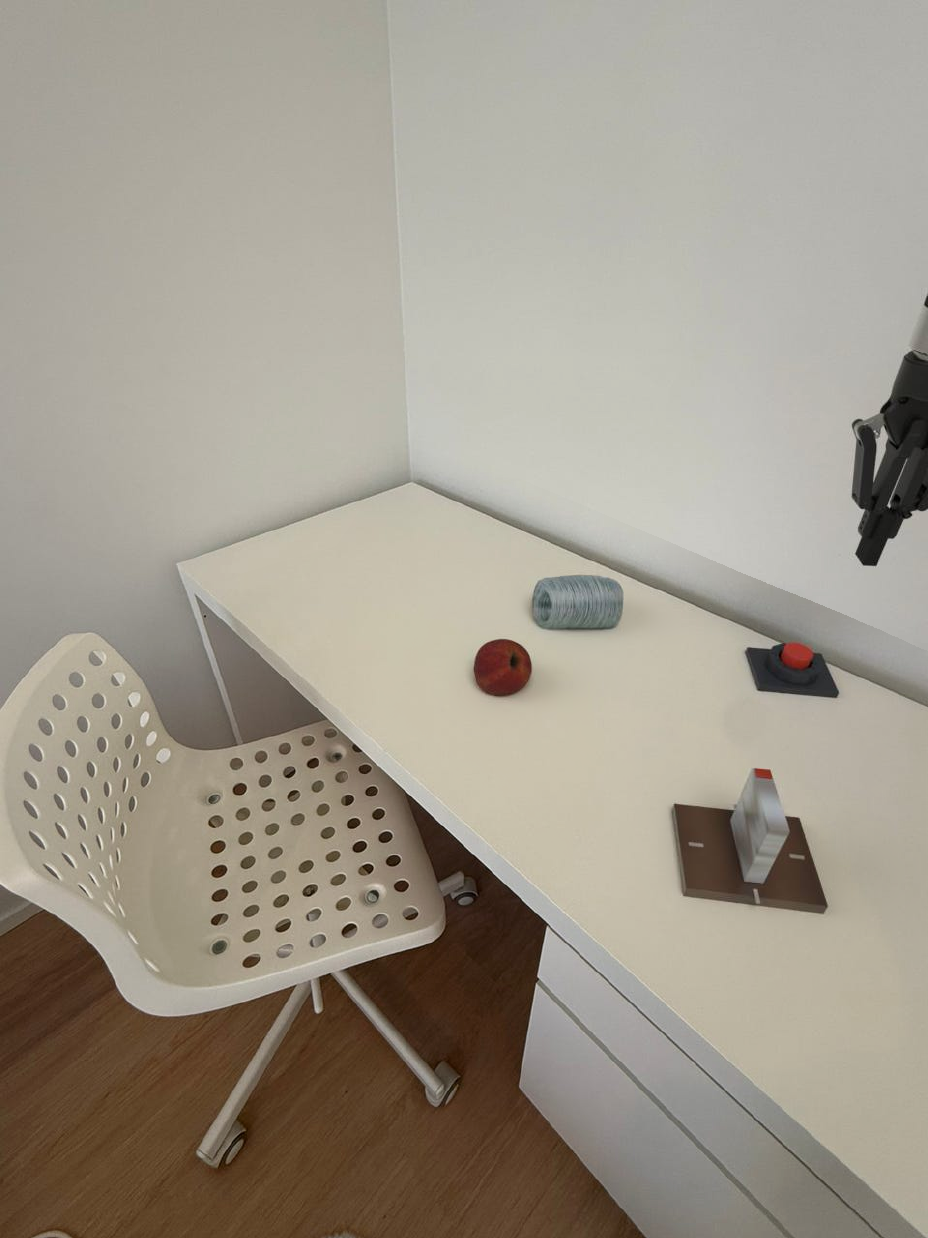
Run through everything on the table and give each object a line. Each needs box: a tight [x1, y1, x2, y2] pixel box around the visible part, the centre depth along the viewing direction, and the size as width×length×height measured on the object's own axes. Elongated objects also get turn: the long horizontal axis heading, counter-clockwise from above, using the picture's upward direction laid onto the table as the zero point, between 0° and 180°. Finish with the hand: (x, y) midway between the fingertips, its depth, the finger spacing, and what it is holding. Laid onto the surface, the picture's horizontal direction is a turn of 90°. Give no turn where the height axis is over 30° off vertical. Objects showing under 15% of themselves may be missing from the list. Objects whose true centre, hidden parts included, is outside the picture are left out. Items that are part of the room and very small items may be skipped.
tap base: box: [671, 803, 829, 915], centre depth 66 cm, size 13×11×3 cm
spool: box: [531, 574, 624, 630], centre depth 97 cm, size 14×10×10 cm
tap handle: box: [730, 767, 790, 884], centre depth 63 cm, size 7×2×9 cm, turn 173°
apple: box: [473, 638, 533, 697], centre depth 86 cm, size 7×8×8 cm
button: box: [781, 642, 814, 669], centre depth 86 cm, size 4×4×2 cm
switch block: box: [745, 642, 840, 699], centre depth 88 cm, size 10×8×4 cm
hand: (865, 559), depth 78 cm, fingers closed
